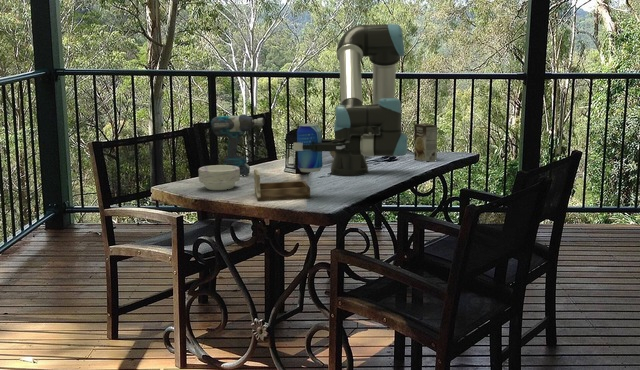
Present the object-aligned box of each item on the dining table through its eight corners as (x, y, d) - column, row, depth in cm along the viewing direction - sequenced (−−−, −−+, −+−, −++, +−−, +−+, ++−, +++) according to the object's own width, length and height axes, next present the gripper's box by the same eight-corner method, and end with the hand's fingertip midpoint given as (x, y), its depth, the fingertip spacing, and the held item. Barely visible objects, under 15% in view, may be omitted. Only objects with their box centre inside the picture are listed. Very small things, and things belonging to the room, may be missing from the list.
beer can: (326, 169, 273) (325, 123, 271) (314, 173, 266) (313, 126, 263) (306, 168, 277) (304, 123, 275) (293, 171, 270) (292, 125, 267)
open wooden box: (304, 191, 283) (304, 166, 282) (310, 198, 269) (309, 172, 268) (254, 193, 281) (253, 168, 279) (257, 201, 267) (256, 174, 265)
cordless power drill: (264, 177, 316) (261, 115, 312) (211, 176, 320) (207, 115, 316) (269, 174, 324) (267, 113, 319) (217, 173, 328) (214, 113, 324)
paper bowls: (247, 188, 291) (246, 167, 290) (209, 193, 283) (208, 172, 282) (229, 183, 304) (228, 163, 302) (193, 188, 296) (191, 167, 294)
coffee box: (413, 160, 352) (413, 124, 349) (425, 158, 355) (425, 123, 352) (425, 162, 344) (425, 125, 341) (437, 161, 347) (437, 124, 344)
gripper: (365, 130, 277) (301, 131, 281) (357, 137, 257) (289, 138, 261) (365, 151, 278) (302, 152, 282) (358, 160, 258) (290, 160, 263)
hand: (296, 145), depth 272 cm, fingers closed on beer can, 7 cm apart
